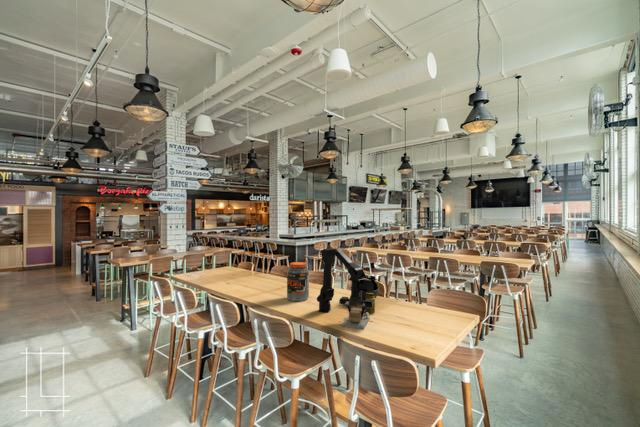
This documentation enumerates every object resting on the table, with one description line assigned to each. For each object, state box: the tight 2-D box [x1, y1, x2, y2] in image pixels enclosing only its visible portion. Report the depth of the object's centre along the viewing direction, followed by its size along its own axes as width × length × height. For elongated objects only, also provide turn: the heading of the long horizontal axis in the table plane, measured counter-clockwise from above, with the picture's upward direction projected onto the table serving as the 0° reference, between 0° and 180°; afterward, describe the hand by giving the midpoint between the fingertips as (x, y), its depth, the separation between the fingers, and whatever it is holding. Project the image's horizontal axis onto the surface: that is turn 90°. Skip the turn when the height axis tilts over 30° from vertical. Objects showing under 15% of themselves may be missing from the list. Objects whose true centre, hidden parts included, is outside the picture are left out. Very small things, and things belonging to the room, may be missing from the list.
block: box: [348, 307, 364, 322], centre depth 168 cm, size 10×6×4 cm, turn 161°
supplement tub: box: [286, 261, 310, 302], centre depth 215 cm, size 16×16×26 cm
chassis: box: [342, 313, 371, 330], centre depth 168 cm, size 16×12×4 cm
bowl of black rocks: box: [350, 274, 380, 301], centre depth 208 cm, size 20×20×19 cm
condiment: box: [363, 293, 378, 316], centre depth 185 cm, size 7×8×12 cm
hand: (356, 316), depth 168 cm, fingers closed on block, 6 cm apart
